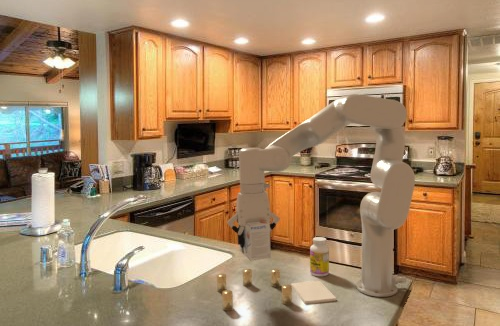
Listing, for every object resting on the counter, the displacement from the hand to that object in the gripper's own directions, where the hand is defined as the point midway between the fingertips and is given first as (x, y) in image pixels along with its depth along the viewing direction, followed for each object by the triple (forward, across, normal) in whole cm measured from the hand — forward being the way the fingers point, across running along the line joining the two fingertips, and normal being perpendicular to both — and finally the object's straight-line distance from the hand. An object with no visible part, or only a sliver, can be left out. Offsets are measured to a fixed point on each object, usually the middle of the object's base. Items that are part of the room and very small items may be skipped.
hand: (254, 244), depth 124 cm
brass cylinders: (+17, +1, -2) cm, 17 cm away
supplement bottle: (+17, -26, -14) cm, 34 cm away
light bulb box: (+3, 0, 0) cm, 3 cm away
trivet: (+17, -18, +1) cm, 25 cm away
